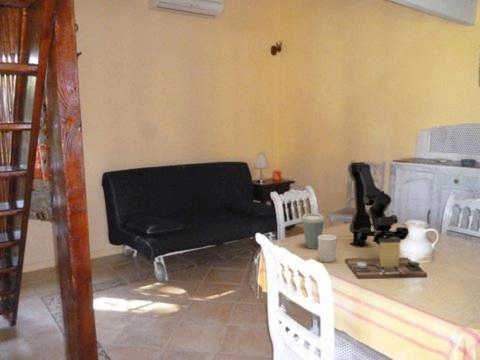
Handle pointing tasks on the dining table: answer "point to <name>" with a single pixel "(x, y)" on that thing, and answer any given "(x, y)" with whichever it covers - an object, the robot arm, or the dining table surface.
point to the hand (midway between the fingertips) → (387, 253)
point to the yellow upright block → (389, 253)
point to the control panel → (377, 272)
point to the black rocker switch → (413, 263)
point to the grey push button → (362, 265)
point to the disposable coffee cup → (312, 228)
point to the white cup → (327, 247)
